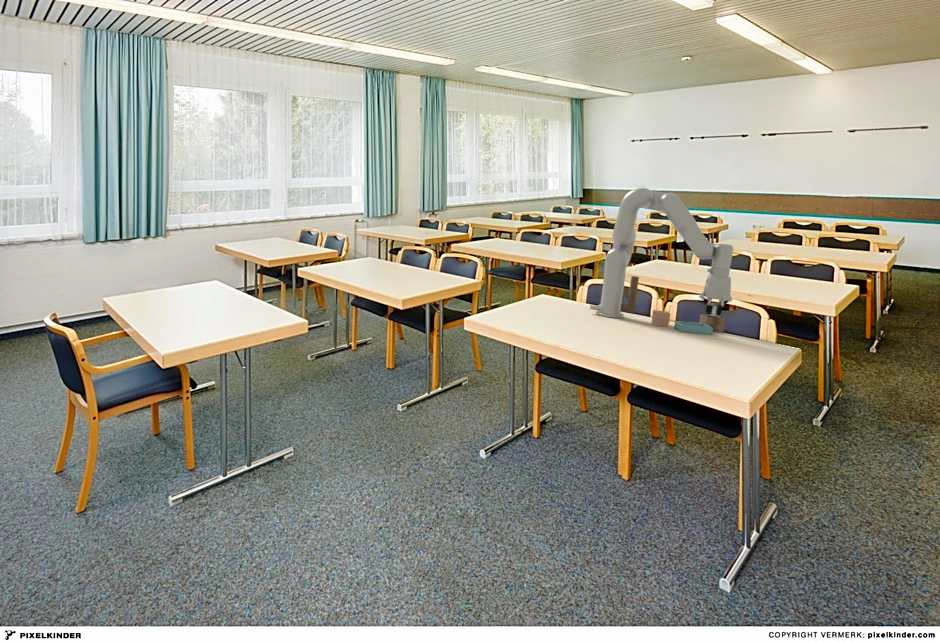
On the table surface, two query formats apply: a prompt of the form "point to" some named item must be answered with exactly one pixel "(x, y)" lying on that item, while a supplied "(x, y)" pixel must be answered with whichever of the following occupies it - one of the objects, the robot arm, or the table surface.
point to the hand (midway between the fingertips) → (713, 314)
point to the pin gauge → (713, 310)
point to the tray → (693, 327)
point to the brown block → (713, 322)
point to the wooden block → (630, 296)
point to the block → (660, 318)
